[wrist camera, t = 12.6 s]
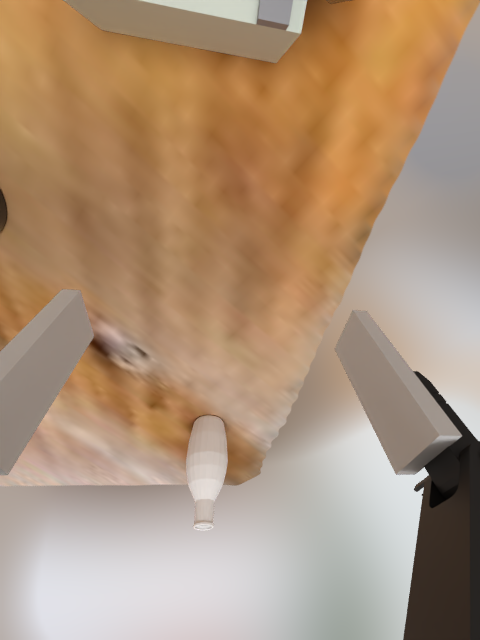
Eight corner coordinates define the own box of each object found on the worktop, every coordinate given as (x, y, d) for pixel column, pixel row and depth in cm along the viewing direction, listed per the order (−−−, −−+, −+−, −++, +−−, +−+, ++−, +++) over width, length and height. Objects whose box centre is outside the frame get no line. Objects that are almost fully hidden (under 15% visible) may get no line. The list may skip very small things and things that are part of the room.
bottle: (197, 434, 81) (188, 537, 61) (184, 416, 75) (170, 523, 55) (231, 429, 80) (233, 531, 60) (221, 409, 74) (220, 516, 53)
